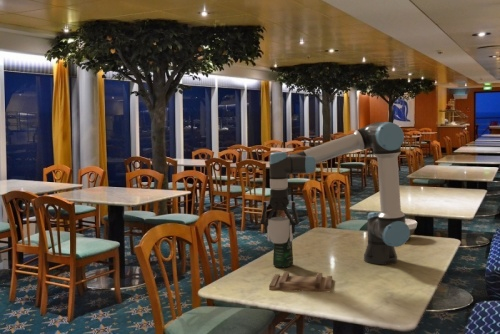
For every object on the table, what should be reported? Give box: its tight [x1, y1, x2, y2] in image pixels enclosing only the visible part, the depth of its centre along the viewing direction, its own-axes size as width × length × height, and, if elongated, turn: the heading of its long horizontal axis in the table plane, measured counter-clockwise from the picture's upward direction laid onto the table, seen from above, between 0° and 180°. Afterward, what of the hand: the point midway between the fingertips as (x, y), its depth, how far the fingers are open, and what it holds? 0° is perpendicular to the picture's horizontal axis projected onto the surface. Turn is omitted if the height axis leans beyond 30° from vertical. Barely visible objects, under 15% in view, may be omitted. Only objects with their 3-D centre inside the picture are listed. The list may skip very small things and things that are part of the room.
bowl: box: [405, 218, 418, 239], centre depth 301 cm, size 20×20×10 cm
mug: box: [268, 216, 291, 244], centre depth 236 cm, size 13×9×10 cm
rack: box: [268, 271, 333, 292], centre depth 224 cm, size 24×16×3 cm, turn 79°
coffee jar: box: [272, 231, 294, 268], centre depth 252 cm, size 10×8×19 cm
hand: (280, 240), depth 236 cm, fingers closed on mug, 9 cm apart
